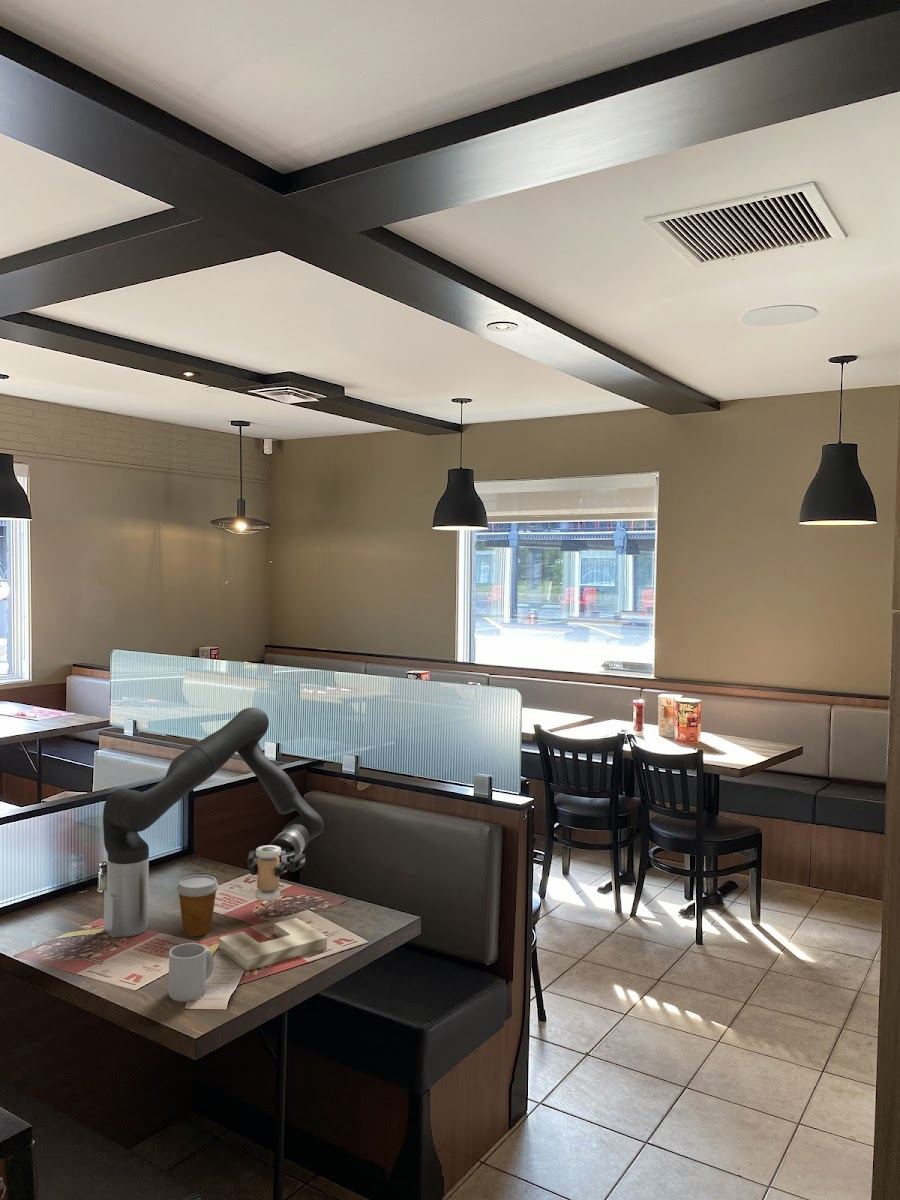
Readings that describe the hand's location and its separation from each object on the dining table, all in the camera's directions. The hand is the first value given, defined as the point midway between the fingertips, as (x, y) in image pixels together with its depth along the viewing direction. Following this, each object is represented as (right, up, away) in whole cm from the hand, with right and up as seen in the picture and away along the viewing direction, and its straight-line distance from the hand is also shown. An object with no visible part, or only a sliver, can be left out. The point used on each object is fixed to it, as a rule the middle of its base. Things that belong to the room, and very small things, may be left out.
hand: (264, 871), depth 206 cm
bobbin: (0, -6, +3) cm, 7 cm away
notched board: (+2, -18, +1) cm, 18 cm away
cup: (-11, -18, -21) cm, 30 cm away
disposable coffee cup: (-18, -17, +9) cm, 27 cm away
